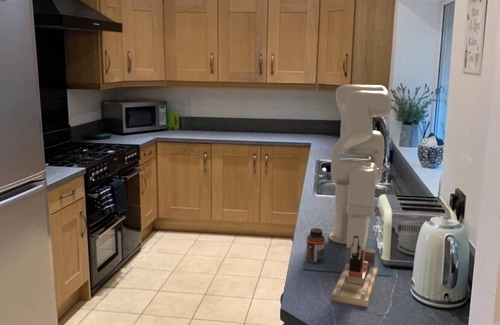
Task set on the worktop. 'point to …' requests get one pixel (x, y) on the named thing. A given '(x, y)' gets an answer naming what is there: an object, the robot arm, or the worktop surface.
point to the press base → (357, 292)
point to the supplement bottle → (315, 246)
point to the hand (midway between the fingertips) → (356, 266)
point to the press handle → (360, 276)
